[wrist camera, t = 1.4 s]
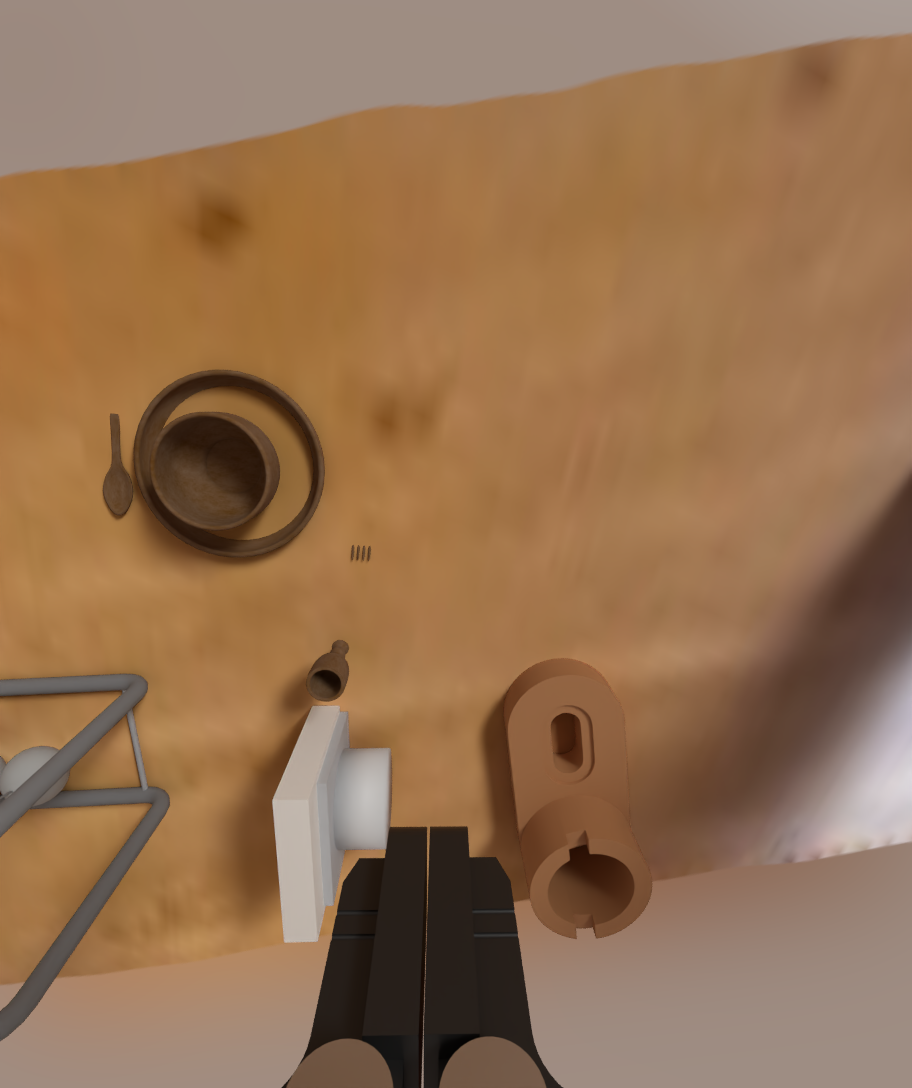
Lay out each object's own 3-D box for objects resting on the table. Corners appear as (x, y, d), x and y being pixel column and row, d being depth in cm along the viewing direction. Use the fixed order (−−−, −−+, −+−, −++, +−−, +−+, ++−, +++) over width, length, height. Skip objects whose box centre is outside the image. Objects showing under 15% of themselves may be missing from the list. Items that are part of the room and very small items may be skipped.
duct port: (391, 705, 40) (376, 798, 31) (393, 819, 43) (380, 940, 33) (312, 705, 40) (272, 800, 31) (319, 821, 43) (284, 942, 33)
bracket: (621, 852, 45) (654, 930, 38) (520, 865, 45) (535, 946, 38) (609, 650, 40) (644, 699, 34) (497, 664, 40) (509, 716, 33)
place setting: (376, 381, 35) (365, 376, 30) (368, 663, 40) (356, 705, 35) (99, 362, 35) (32, 352, 29) (124, 652, 39) (71, 693, 34)
